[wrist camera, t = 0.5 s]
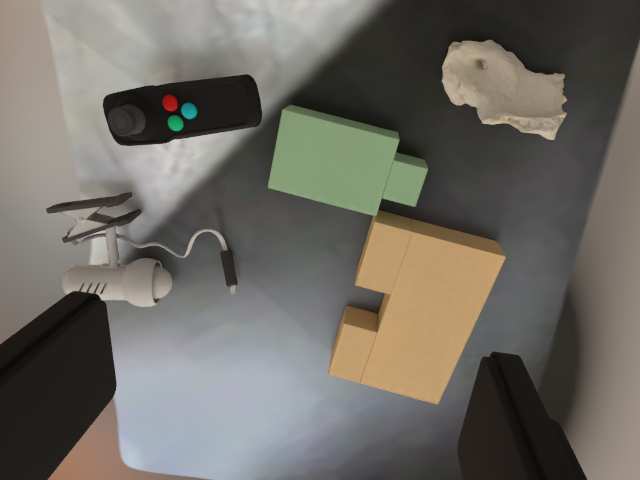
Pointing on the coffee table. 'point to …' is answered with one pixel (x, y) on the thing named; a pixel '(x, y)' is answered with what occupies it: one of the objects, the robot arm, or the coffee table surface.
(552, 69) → the coffee table surface
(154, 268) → the clip-on lamp
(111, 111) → the controller
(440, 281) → the sand pad
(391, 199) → the green pad
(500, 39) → the coffee table surface
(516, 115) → the coral
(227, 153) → the coffee table surface
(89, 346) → the robot arm
